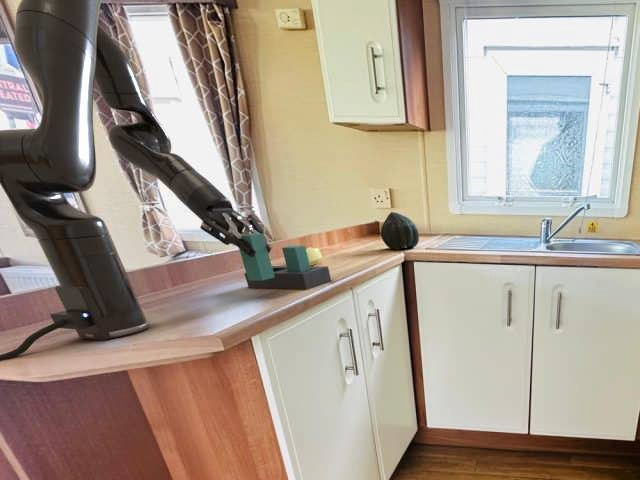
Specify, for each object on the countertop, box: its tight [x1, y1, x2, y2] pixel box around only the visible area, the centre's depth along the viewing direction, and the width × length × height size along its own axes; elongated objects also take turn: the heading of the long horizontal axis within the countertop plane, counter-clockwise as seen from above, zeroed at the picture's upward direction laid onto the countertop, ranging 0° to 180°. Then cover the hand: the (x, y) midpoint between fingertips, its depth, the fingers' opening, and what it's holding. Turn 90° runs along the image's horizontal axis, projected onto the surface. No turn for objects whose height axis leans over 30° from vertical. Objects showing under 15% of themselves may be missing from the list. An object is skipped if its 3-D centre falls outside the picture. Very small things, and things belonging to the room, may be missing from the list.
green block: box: [238, 233, 275, 281], centre depth 98 cm, size 4×4×10 cm
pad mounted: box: [281, 245, 310, 272], centre depth 113 cm, size 4×4×10 cm
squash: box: [380, 211, 420, 250], centre depth 174 cm, size 14×15×15 cm
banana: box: [279, 247, 323, 266], centre depth 144 cm, size 14×6×20 cm
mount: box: [243, 265, 332, 290], centre depth 115 cm, size 10×18×4 cm, turn 76°
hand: (261, 252), depth 97 cm, fingers closed on green block, 4 cm apart
